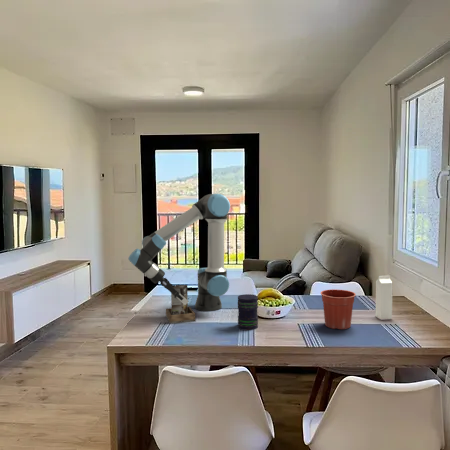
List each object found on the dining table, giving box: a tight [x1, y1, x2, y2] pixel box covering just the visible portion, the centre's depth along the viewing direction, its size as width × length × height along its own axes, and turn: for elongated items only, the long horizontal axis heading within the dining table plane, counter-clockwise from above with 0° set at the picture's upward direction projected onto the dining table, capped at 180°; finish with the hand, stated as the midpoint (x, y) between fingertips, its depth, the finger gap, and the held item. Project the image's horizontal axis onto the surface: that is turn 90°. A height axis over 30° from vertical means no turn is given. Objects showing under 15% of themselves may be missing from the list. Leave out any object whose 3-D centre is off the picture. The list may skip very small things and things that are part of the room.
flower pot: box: [320, 288, 357, 330], centre depth 203 cm, size 16×16×16 cm
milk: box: [375, 274, 393, 321], centre depth 214 cm, size 6×6×22 cm
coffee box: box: [170, 284, 189, 315], centre depth 218 cm, size 9×6×16 cm
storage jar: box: [237, 293, 259, 331], centre depth 203 cm, size 10×10×15 cm
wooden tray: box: [165, 306, 196, 325], centre depth 218 cm, size 13×14×4 cm
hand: (184, 300), depth 219 cm, fingers open, 13 cm apart
